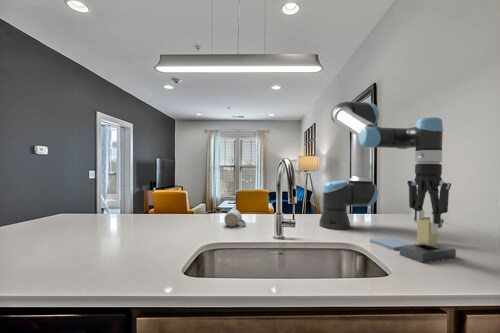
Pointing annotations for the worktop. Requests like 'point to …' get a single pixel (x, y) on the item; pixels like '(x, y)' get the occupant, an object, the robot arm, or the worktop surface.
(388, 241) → the blue mat
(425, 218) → the mechanical component
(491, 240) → the worktop surface
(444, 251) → the grey recessed block
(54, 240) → the worktop surface
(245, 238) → the worktop surface
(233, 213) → the ceramic mug
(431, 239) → the brass block
